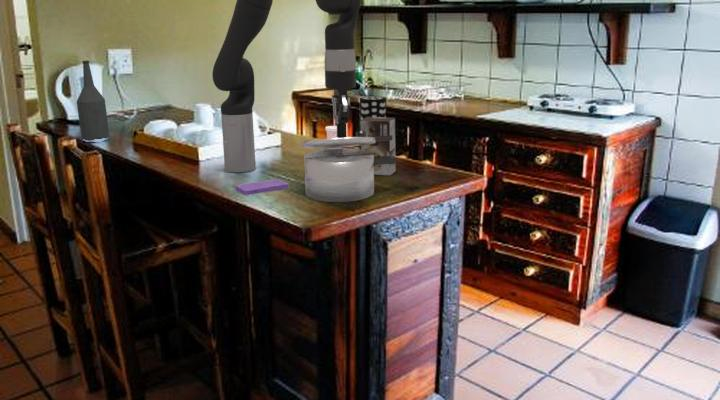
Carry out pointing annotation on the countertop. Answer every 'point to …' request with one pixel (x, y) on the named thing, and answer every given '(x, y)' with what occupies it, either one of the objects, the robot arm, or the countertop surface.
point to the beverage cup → (331, 131)
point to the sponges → (261, 186)
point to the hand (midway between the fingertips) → (341, 138)
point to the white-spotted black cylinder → (372, 107)
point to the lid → (345, 141)
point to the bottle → (91, 109)
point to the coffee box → (380, 148)
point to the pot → (341, 174)
